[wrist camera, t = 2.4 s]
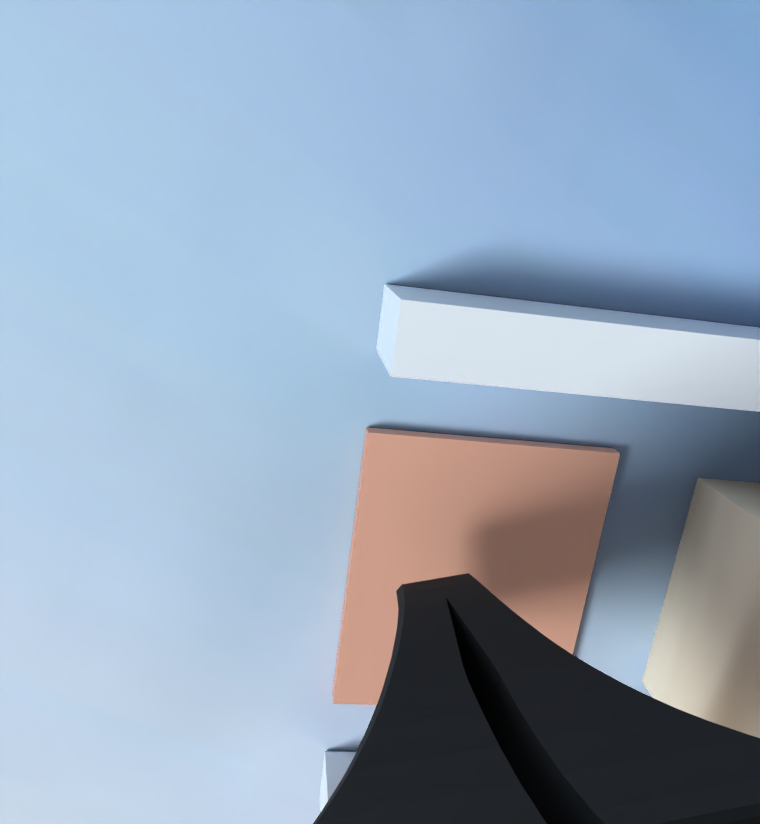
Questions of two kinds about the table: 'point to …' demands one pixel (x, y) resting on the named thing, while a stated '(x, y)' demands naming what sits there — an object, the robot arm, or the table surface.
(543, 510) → the trap channel
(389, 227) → the table surface
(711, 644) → the pale gold metal block
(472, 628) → the robot arm
